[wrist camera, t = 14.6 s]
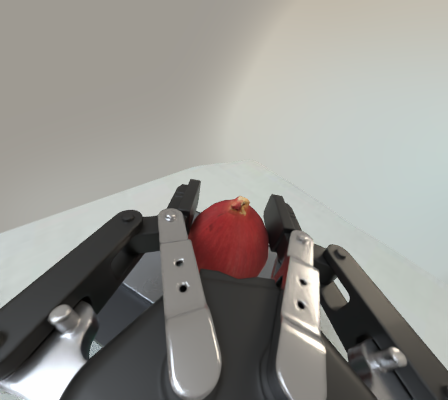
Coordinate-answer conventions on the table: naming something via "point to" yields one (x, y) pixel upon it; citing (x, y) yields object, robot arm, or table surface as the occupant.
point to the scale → (142, 294)
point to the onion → (230, 239)
